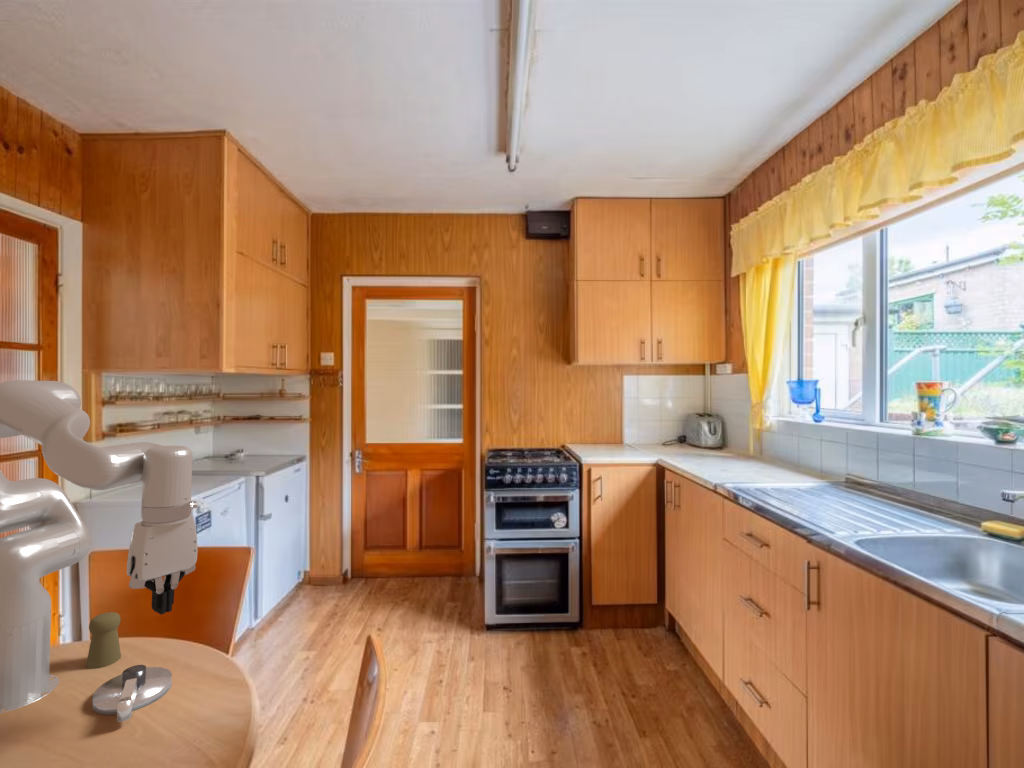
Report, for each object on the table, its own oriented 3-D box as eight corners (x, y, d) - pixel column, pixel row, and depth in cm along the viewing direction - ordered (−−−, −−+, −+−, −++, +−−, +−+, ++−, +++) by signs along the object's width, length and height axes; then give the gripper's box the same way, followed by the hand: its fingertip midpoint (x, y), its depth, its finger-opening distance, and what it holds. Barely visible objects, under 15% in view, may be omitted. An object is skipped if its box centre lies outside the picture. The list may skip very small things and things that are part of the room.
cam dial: (100, 685, 95) (101, 662, 95) (174, 668, 102) (174, 647, 102) (77, 741, 81) (78, 714, 81) (165, 718, 87) (166, 693, 87)
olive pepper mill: (100, 676, 100) (102, 623, 100) (77, 672, 101) (78, 619, 101) (129, 660, 106) (130, 610, 106) (106, 656, 107) (108, 607, 107)
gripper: (196, 502, 99) (193, 592, 99) (108, 518, 85) (104, 622, 85) (218, 507, 95) (214, 601, 95) (129, 525, 82) (125, 634, 82)
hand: (162, 610), depth 90 cm, fingers closed
